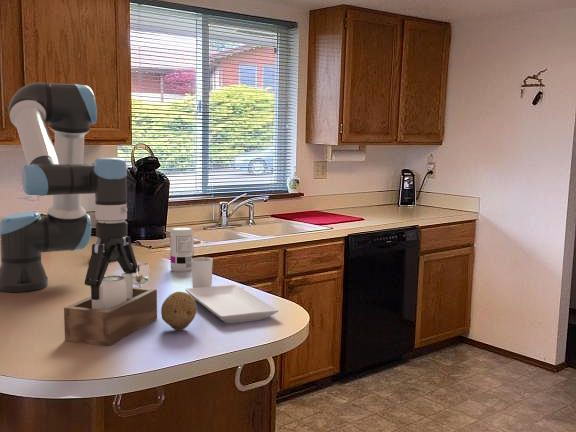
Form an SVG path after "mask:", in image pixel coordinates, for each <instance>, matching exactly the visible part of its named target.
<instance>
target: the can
mask: <svg viewBox="0 0 576 432" xmlns="http://www.w3.org/2000/svg"><path fill="white" fill-rule="evenodd" d="M101 286H103V307H104V310H108V309H110V308H113V307H115V306H117V305H119V304H121V303H123V302H125V301H126V283H125V281H124V277H123V276H122V275H106V276H104V278H103V280H102V283H101Z"/></svg>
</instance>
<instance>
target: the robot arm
mask: <svg viewBox="0 0 576 432" xmlns="http://www.w3.org/2000/svg"><path fill="white" fill-rule="evenodd" d="M8 116H9V120H10V122H11V124H12V125H13V126H14V127H15V128H16V130H17V133H18V138H19V140H20V143H21V147H22V150H23V154H24V157H25V161H26V164H27V165H26V164H25V165H24V166H23V167H22V172H21V176H22V177H21V181H22V183H21V184H22V189H23V192H24V194H26V195H28V196H41V197H43V196H44V197H45V196H52V204H51V206H49V207H48V209H47V215H41V214H40V212H39V211H35V210H34V211H23V212H17V213H12V214H9V215H5V216H3V217H2V218H1V219H0V259H1V260H0V262H1V264H0V292H5V293H24V292H32V291H37V290H40V289H45V288H46V287H48V285H49V278H48V276H47V273H46V271H45V267H44V265H43V263H42V253H51V252H53V253H54V252H65V251H67V252H68V251H71V252H72V251H76V250H83V249H85V248H86V247H87V246H88V244H90V240H91V235H92V221H91V220H92V219H91V216H90V214H88V213H87V210H86V209H85V208H84V207H83V206H82V202H83V201H82V199H83V195H85V194H86V195H88V194H89V195H90V194H94V195H95V196H94V197H95V199H94V200H95V203H94V204H95V206H94V207H95V208H94V209H95V211H94V213H95V215H94V220H98V222H97V221H96V223H95V236H96V238H98V237H99V238H100V244H96V243H92V245H91V254H90V259H89V262H88V267H87V271H86V274H85V279H84V285H86V286H89V287H90V297H91V298H92V309H99V310H104V307H103V286H101V283H102V280H103V278H104V277H105V275H106V272H107V269H108V267H109V265H110V263H112V262H113V260H112V259H115V258H116V261H117V262H118V265H119V267H120V268H121V269H122V271H123V272H122V273H121V276H123V277H124V281H125V283H126V298H127V299H131V298H133V287H134V286H133V285H134V284H133V275H132V273H136V272H137V268H138V266H137V262H138V261H137V260H136V256H135V253H134V250H133V247H132V246H133V245H132V241H131V240H132V238H131V236H128V233H129V232H128V222H127V221H126V220H127V219H128V207H127V206H128V205H127V204H128V200H127V199H128V196H127V195H128V191H127V190H128V188H127V187H128V186H127V185H128V183H127V182H128V178H127V176H128V171H127V162H126V160H125V159H124V158H122V157H97V158H96V159H95V160H94V162H93V163H84V155H85V154H84V153H85V152H84V151H85V135H87V134H88V133H90V131H91V125H95V124H97V122H98V121H97V120H98V107H97V102H96V97H95V94H94V92H93V90H92V88H91V87H90V86H88V85H85V84H84V85H83V84H77V83H60V82H59V83H56V82H42V81H41V82H39V81H38V82H32V83H29V84H26V85H25V86H23V87H20V88H19V89H18V90H17V91H16V92H15V93H14V95H13V96H12V98H11V99H10V101H9V105H8ZM47 124H49V129H50V130H51V131H52V132H53V133H54V144H53V140H52V137H51V135H50V132H49V129H48V126H47ZM97 253H98V254H97ZM103 256H104V257H103Z"/></svg>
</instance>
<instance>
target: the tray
mask: <svg viewBox="0 0 576 432" xmlns="http://www.w3.org/2000/svg"><path fill="white" fill-rule="evenodd" d="M185 291H186V293H187V294H189V295H190V296H191V297H192V298H193V299H194V300H195V301H197V302H199V304H201V305H202V306H204V307H205V308H206V309H207V310H209V311H210V312H211V313H212V314H213V315H215V316H216V317H218V319H220V320H221V321H223V322H224V323H225V324H236V323H242V322H244V323H245V322H251V321H252V322H253V321H261V320H264V319H265V318H268V317H271V316H273V315H275V314H277V313H278V312H279V309H278V308H276V307H275V306H273V305H271V304H269V303H267V302H266V301H265V300H262V299H261V298H260V297H258V296H256V295H254V294H253V293H251V292H250V291H248V290H246V289H244V288H243V287H241V286H239V285H238V284H228V285H216V286H213V285H212V286H211V287H201V288H193V287H191V288H190V287H189V288H186V289H185Z"/></svg>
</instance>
